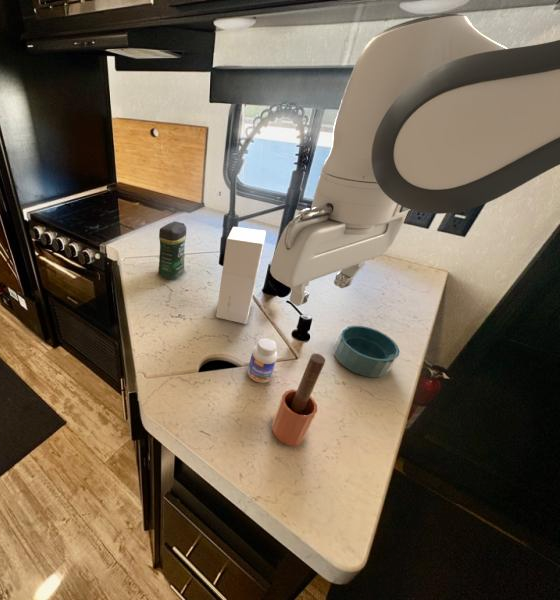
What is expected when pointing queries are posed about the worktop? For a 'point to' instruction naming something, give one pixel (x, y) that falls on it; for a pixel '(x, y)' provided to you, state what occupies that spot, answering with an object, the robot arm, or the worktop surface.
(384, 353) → the bowl
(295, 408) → the stick
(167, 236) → the coffee jar
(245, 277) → the tall white carton
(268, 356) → the pill bottle
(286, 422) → the crock
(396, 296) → the worktop surface
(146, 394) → the worktop surface
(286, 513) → the worktop surface
